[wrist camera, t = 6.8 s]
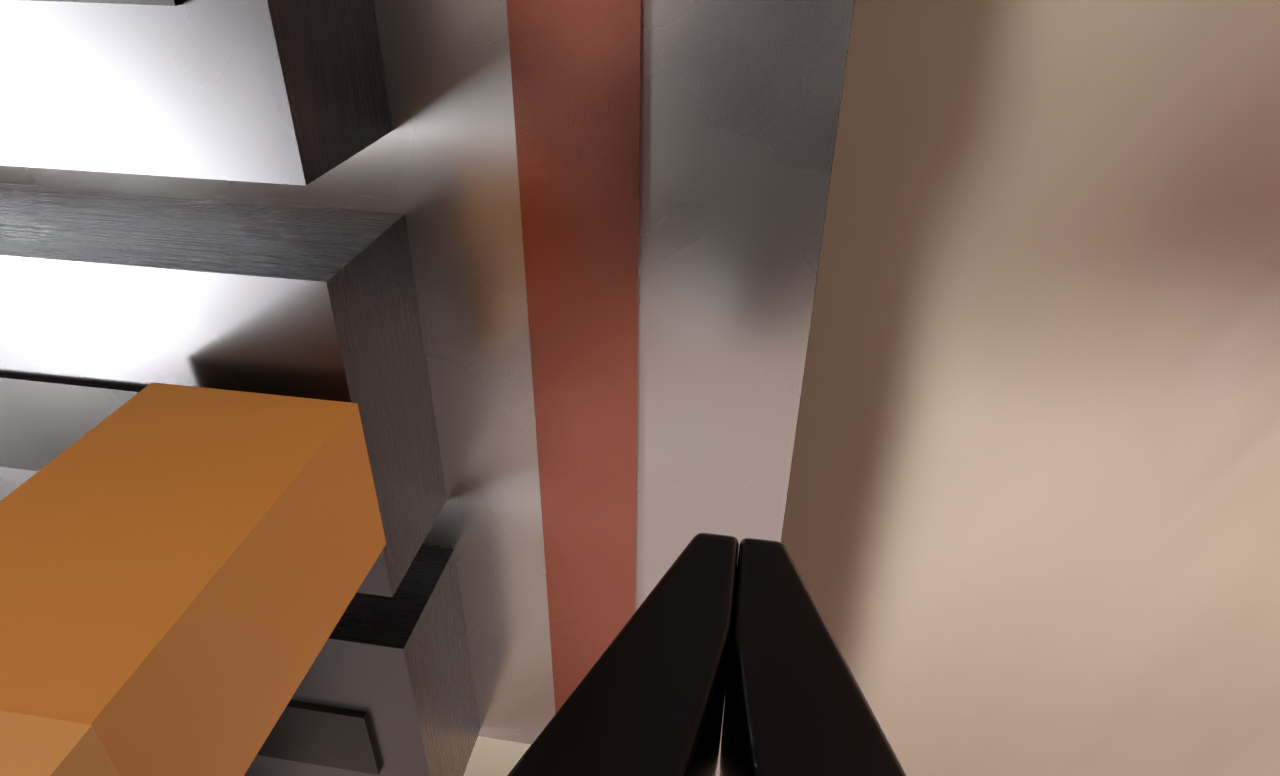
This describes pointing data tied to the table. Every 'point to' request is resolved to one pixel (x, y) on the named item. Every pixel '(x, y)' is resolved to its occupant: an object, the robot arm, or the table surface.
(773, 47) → the panel
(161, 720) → the orange rectangular block
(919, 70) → the table surface
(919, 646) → the table surface
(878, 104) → the table surface
